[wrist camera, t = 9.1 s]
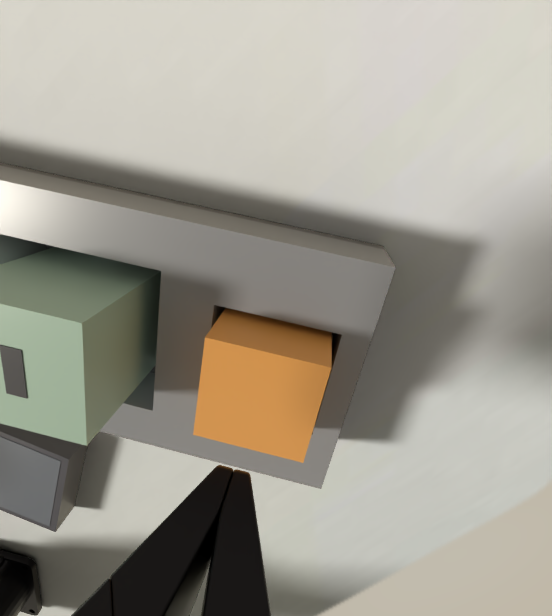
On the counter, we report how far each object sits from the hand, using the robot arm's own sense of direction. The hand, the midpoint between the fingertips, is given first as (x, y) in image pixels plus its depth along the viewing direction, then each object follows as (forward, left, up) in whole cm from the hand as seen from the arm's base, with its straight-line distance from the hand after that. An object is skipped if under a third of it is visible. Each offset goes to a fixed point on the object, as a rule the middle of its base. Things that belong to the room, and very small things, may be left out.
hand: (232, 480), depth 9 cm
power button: (0, 0, -6) cm, 6 cm away
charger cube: (0, +7, -7) cm, 10 cm away
